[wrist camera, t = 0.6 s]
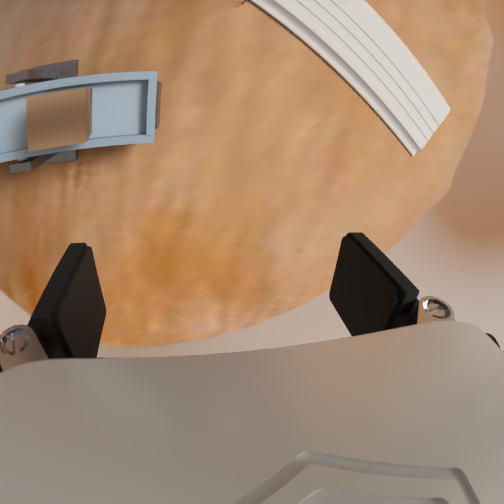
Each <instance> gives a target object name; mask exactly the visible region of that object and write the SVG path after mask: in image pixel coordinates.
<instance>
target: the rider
mask: <svg viewBox="0 0 504 504" xmlns="http://www.w3.org/2000/svg"><path fill="white" fill-rule="evenodd" d="M92 91H93V88H81V89H73V90H66V91H59V92H53V93H47V94H41V95H36V96H31V97H26V115H27V140H28V152H30V151H35V150H41V149H47V148H53V147H60V146H67V145H74V144H82V143H86V142H87V140H88V139H89V137H90V136H91V134H92Z"/></svg>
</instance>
